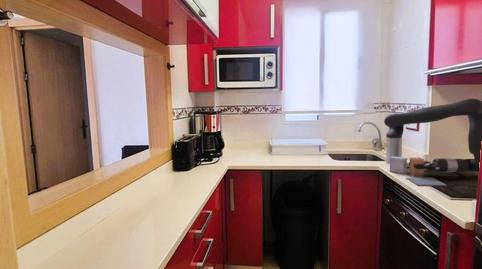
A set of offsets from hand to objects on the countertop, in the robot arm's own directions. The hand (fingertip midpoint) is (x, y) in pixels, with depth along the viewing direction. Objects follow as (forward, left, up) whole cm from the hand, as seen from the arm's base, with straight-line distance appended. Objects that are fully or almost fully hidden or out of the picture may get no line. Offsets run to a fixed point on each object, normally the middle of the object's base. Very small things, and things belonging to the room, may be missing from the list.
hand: (412, 165), depth 153 cm
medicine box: (-9, -4, -6) cm, 12 cm away
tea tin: (0, +2, -6) cm, 6 cm away
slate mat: (+12, +1, -6) cm, 13 cm away
